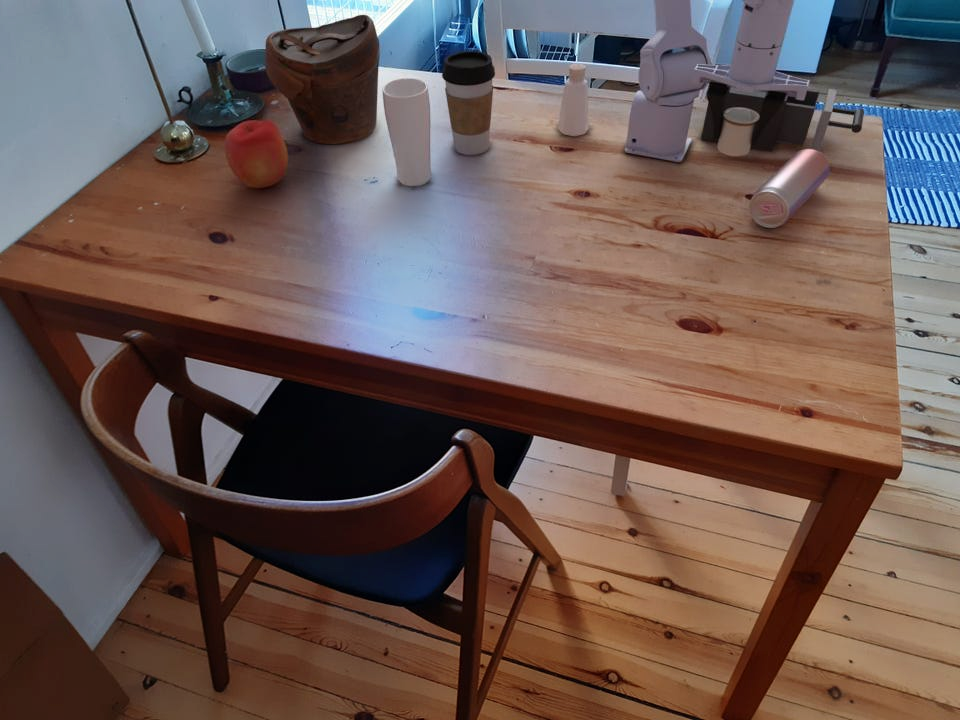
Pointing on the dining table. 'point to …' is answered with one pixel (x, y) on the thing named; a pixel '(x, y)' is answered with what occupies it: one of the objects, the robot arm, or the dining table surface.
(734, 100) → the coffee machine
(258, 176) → the apple
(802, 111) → the drawer
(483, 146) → the coffee cup
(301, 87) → the case
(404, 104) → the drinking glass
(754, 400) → the dining table surface
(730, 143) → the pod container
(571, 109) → the pepper shaker
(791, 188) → the beverage can
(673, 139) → the robot arm
